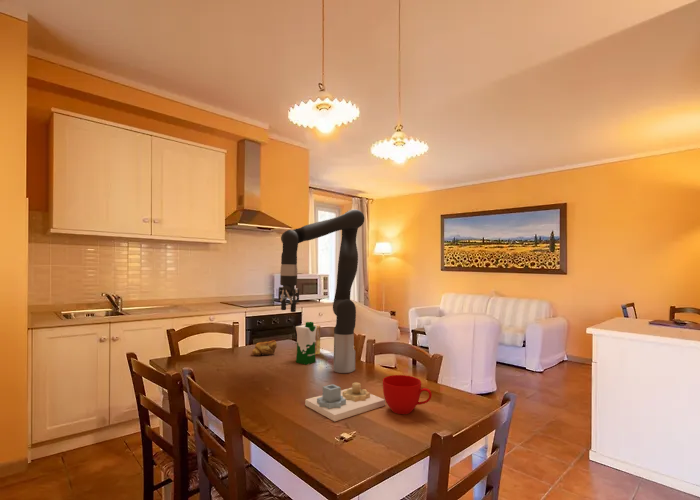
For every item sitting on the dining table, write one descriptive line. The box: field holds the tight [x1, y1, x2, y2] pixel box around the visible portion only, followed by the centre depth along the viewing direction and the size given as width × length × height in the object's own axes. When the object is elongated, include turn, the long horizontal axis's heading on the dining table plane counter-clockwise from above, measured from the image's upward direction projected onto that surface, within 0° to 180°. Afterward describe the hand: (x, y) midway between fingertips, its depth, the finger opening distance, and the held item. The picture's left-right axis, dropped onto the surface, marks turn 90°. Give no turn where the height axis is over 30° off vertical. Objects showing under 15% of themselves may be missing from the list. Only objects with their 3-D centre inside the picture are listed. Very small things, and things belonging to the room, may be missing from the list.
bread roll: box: [251, 339, 277, 357], centre depth 202 cm, size 13×10×8 cm
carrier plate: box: [304, 381, 386, 422], centre depth 130 cm, size 22×17×7 cm
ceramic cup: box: [382, 374, 433, 415], centre depth 125 cm, size 13×17×10 cm
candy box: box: [314, 324, 321, 355], centre depth 205 cm, size 9×4×15 cm, turn 110°
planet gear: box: [317, 383, 346, 409], centre depth 126 cm, size 10×10×6 cm
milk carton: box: [295, 321, 317, 366], centre depth 187 cm, size 9×9×20 cm
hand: (288, 311), depth 167 cm, fingers open, 8 cm apart
